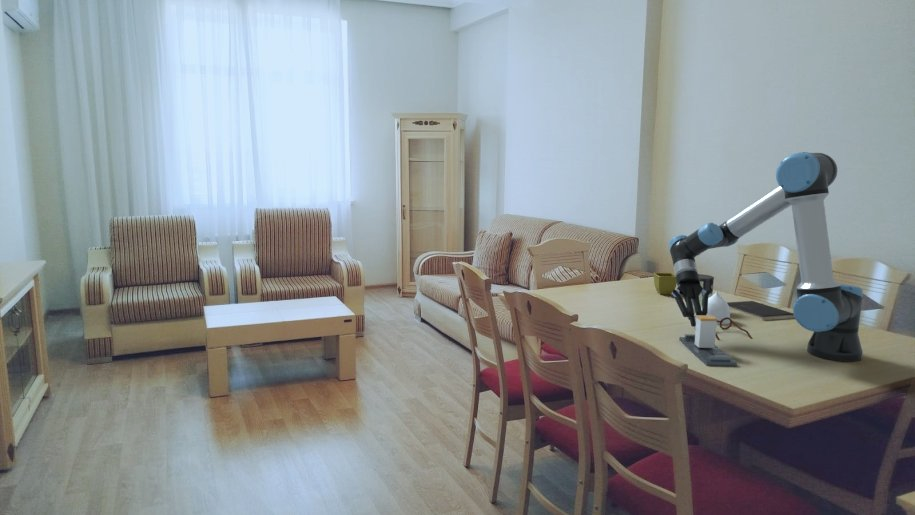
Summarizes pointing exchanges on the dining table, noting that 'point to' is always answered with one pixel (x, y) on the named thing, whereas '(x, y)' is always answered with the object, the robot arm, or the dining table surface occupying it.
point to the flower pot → (665, 283)
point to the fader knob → (705, 331)
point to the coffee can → (705, 286)
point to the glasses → (730, 326)
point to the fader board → (707, 353)
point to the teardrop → (718, 308)
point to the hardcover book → (759, 310)
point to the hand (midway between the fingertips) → (699, 334)
